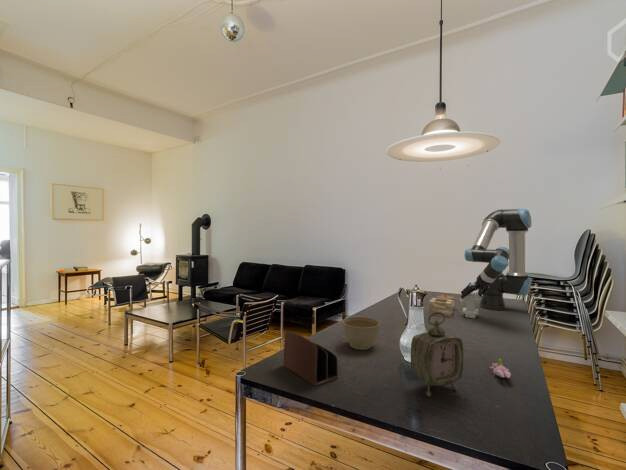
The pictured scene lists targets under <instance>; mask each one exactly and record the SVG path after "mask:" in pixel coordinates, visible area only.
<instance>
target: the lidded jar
mask: <svg viewBox="0 0 626 470" xmlns="http://www.w3.org/2000/svg"><path fill="white" fill-rule="evenodd" d="M436 298H440V299H449V300H453V307H454V305H455V297H454V296H452V295H447V294H444V295H443V294H441V295H436Z"/></svg>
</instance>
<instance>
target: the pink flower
mask: <svg viewBox="0 0 626 470" xmlns="http://www.w3.org/2000/svg"><path fill="white" fill-rule="evenodd" d="M489 369H491V370H492V369H493V370H492V372H493V374H495V375H497V376H498V377H500V378H507V379H510V377H511V375H512V374H511V372H510V369H509V368H507V367H505V366H504V365H503V361H502V359H501V358H498V360H497V362H495V363H494V362H492V364H491V366H489Z"/></svg>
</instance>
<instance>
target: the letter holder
mask: <svg viewBox="0 0 626 470" xmlns="http://www.w3.org/2000/svg"><path fill="white" fill-rule="evenodd" d="M283 366H284V367H286V368H287V369H288V370H290V371H291V370H292V371H291V372H293V373H294V372H295V374H296V373H297V374H298V375H297V374H296V375H297V376H299V375H300V376H301V377H300V376H299V377H300V378H302V377H303V378H304V379H303V378H302V379H303V380H305V379H306V380H307V381H306V380H305V381H306V382H308V381H309V382H311V383H312V384H313V386H314V385H318V386H320V385H319V384H321V385H323V383H324V384H326V383H328V382H331V380H332V381H333V380H334V381H335V380H338V378H339V372H338V370H339V366H338V357H337V355H336V354H335V353H333V352H332V351H330V350H329V349H327V348H325V347H324V346H322V345H320V344H318V343H316V342H313V341H311V340H309V339H307V338H306V337H304V336H302V335H300V334H299V333H295V332H292V331H285V333H284V345H283ZM309 382H308V383H309ZM311 383H310V384H311ZM312 384H311V385H312Z"/></svg>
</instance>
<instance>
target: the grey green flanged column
mask: <svg viewBox="0 0 626 470" xmlns="http://www.w3.org/2000/svg"><path fill="white" fill-rule="evenodd" d="M475 293H476V292H472V293H470V294H469V295H467V298H466V299H465V301H466V302H465V307H463V308H462V313H464V317H465V318H471V319H476V315H478V314H479V308H476V301H475Z"/></svg>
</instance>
